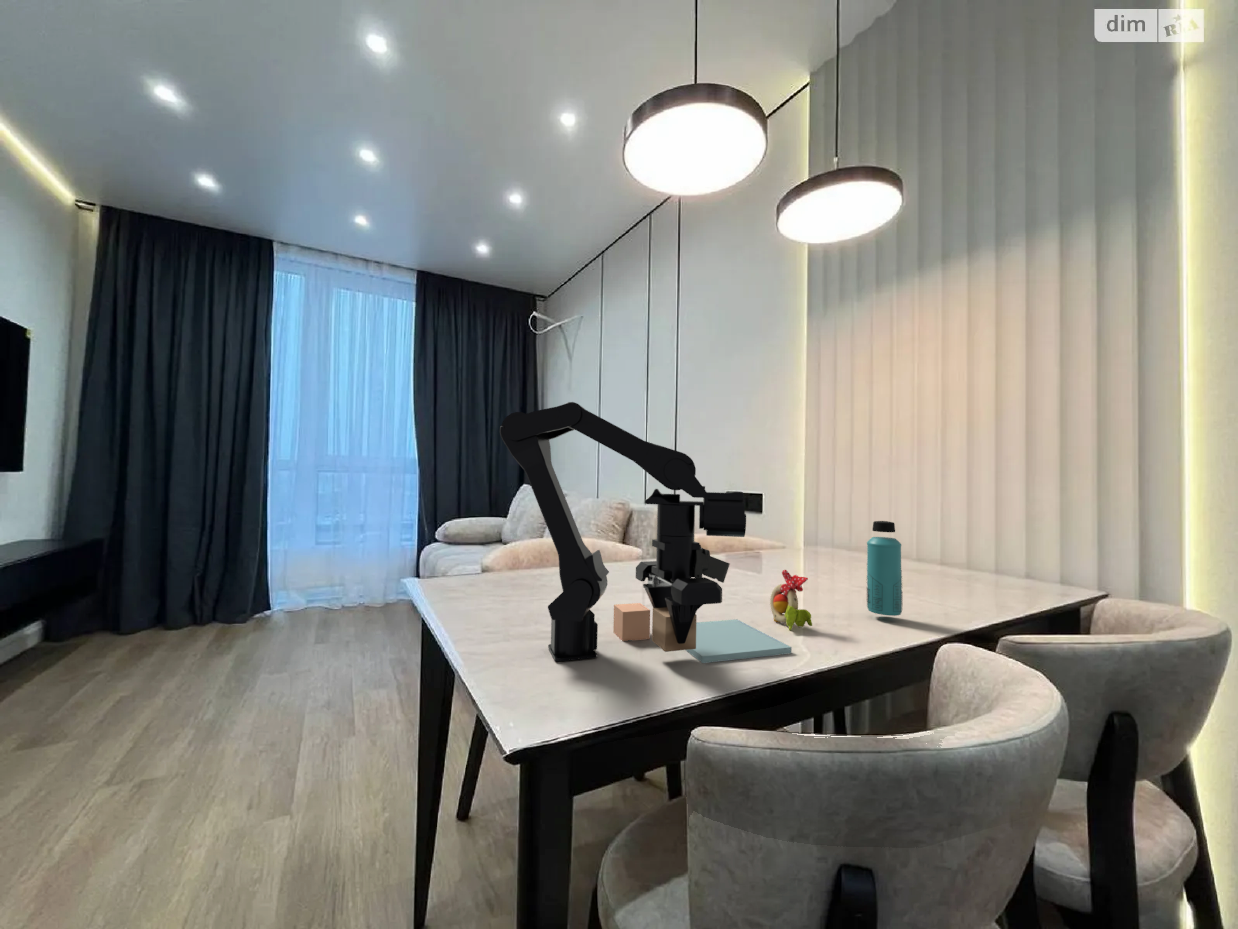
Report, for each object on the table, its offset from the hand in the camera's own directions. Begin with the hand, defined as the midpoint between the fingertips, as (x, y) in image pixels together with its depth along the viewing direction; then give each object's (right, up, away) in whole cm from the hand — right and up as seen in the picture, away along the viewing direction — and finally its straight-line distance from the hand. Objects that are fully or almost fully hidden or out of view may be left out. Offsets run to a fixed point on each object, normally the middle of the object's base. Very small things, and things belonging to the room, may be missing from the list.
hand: (673, 637), depth 74 cm
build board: (+9, -4, +9) cm, 14 cm away
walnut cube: (0, -1, 0) cm, 1 cm away
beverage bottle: (+46, -6, +26) cm, 53 cm away
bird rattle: (+24, -5, +19) cm, 31 cm away
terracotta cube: (-6, -4, +12) cm, 14 cm away
